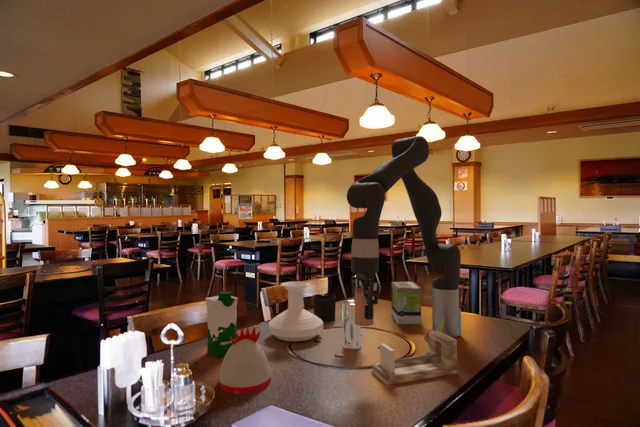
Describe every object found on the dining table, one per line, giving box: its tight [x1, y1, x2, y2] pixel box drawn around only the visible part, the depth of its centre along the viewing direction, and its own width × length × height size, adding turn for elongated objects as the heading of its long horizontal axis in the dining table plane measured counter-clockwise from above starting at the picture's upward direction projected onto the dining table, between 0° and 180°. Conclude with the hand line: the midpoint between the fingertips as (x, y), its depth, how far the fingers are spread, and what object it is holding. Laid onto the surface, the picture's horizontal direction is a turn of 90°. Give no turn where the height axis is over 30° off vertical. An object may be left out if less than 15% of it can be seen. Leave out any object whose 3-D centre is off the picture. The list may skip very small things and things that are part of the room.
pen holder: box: [312, 294, 337, 324], centre depth 170 cm, size 9×9×10 cm
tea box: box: [390, 281, 422, 325], centre depth 170 cm, size 15×10×15 cm, turn 179°
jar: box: [354, 287, 375, 327], centre depth 112 cm, size 5×5×10 cm
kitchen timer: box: [218, 326, 272, 395], centre depth 110 cm, size 14×14×15 cm
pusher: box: [379, 342, 441, 374], centre depth 115 cm, size 19×6×7 cm, turn 108°
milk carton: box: [204, 290, 239, 359], centre depth 132 cm, size 9×9×20 cm
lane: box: [371, 331, 458, 386], centre depth 115 cm, size 22×9×10 cm, turn 108°
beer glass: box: [341, 299, 362, 350], centre depth 137 cm, size 7×7×15 cm
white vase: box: [268, 280, 324, 342], centre depth 149 cm, size 20×20×19 cm
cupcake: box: [423, 316, 451, 346], centre depth 131 cm, size 9×8×12 cm
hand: (364, 316), depth 112 cm, fingers closed on jar, 5 cm apart
